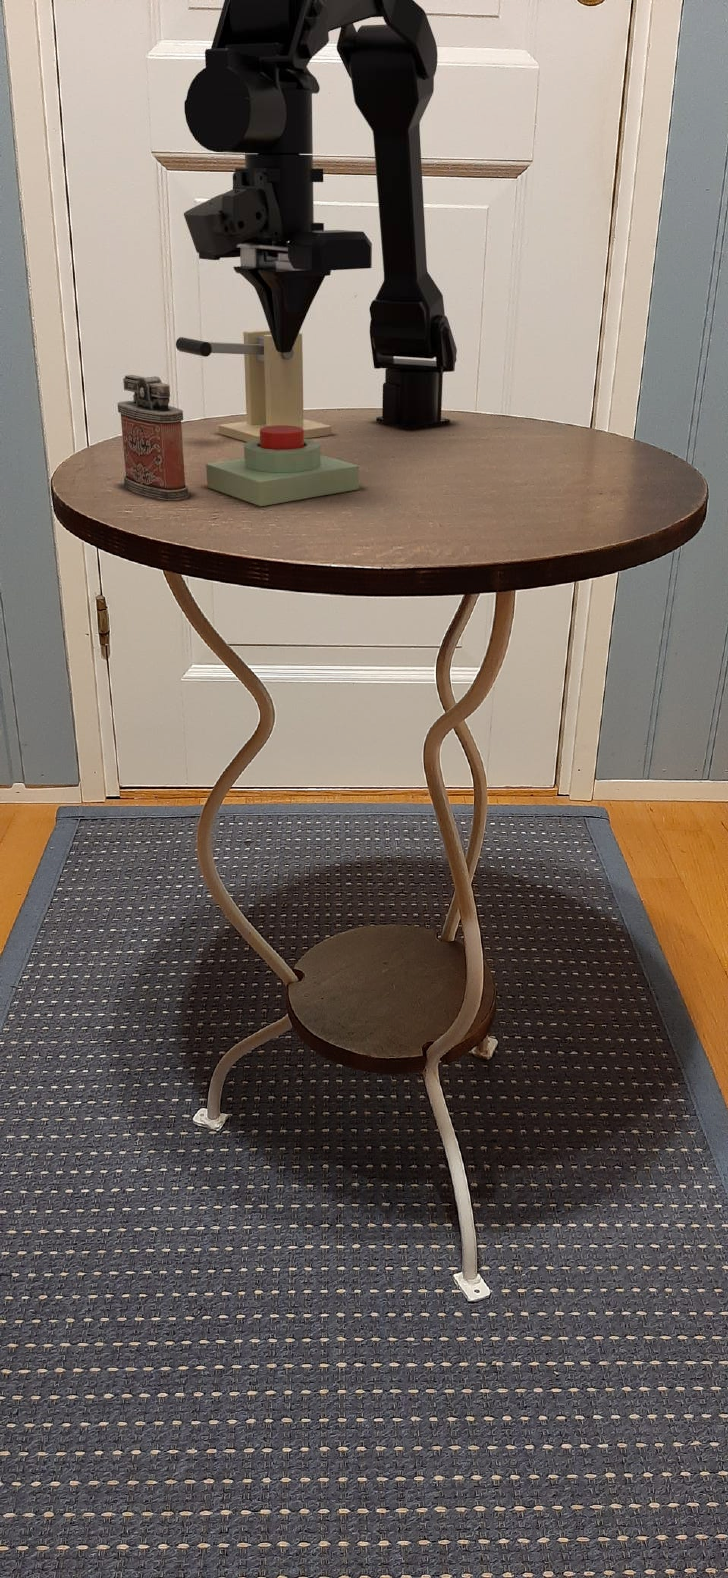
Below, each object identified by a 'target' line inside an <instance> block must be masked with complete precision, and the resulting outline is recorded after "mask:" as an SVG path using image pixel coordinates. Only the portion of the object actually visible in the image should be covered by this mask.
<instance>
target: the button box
mask: <svg viewBox="0 0 728 1578" xmlns="http://www.w3.org/2000/svg"><path fill="white" fill-rule="evenodd" d="M243 454H244V455H243V456H244V457H242V458H236V459H235V458H234V459H229V460H222V461H213V462H207V463H206V464H205V466H206V484H207V485H206V486H207V488H208V489H211V490H214V491H217V492H219V493H223V494H225V495H229V496H231V497H233V498H237V499H239V500H241V501H245V502H246V503H249V504H253V505H256V506H258V507H264V506H265V507H266V506H271V505H277V504H283V503H289V502H295V501H300V500H305V499H306V500H307V499H311V498H317V497H323V496H328V495H334V494H335V495H336V494H340V493H346V492H351V491H357V490H359V489H360V465H358V464H355V463H351V462H348V461H344V460H340V459H338V458H334V457H331V456H327V455H323V454H321V445H320V443H319V441H316V440H313V439H310V438H306V439H304V447H303V448H299V449H292V450H274V449H264V448H261V447H260V439H256V440H252V441H249V442H245V443H243Z"/></svg>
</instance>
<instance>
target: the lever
mask: <svg viewBox="0 0 728 1578" xmlns="http://www.w3.org/2000/svg"><path fill="white" fill-rule="evenodd" d="M175 347H176V349H177V351H179V352H181V353H184V354H191V355H195V356H200V357H205V358H207V357H209V356H210V355H212V354H228V355H229V354H230V355H244V354H252V355H257V360H258V361H263V362H264V337H258V341H257V344H244V342H242V343H241V342H240V343H238V342H217V341H204V340H199V339H193V338H188V337H183V336H180V337H178V338H177V339H176V341H175Z"/></svg>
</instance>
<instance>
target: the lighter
mask: <svg viewBox="0 0 728 1578" xmlns="http://www.w3.org/2000/svg"><path fill="white" fill-rule="evenodd" d="M122 380H123V391H128V392H131V393H134V394H133V395H132V398H133V400H123V401H119V402H117V413H119V414H120V422H121V435H122V447H123V457H124V458H123V459H124V469H125V470H124V471H125V475H124V476H123V482H124V483H123V484H124V488H125V489H128V490H129V491H130V492H133V493H136V494H139V495H142V496H146V497H149V498H154V499H157V500H163V501H179V500H185V499H187V498H188V497H189V491H188V490H189V488H188V485H187V484H186V477H185V476H186V475H185V460H184V443H183V429H182V426H183V425H182V421H183V420H184V410H183V409H181V408H177V407H174V406H171V405H169V404H170V402H171V401H170V397H171V388H170V387H171V386H170V384H168V383H163V382H162V380H161V378H160V377H159V376H156V375H155V376H147V377H145V376H141V375H136V374H125V375H124V377H123V378H122Z"/></svg>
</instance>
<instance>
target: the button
mask: <svg viewBox="0 0 728 1578" xmlns="http://www.w3.org/2000/svg"><path fill="white" fill-rule="evenodd" d="M260 447H261V448H264V449H274V450H292V449H299V448H303V447H304V430H303V428H301V427H297V426H288V425H276V426H267V427H263V428H261V429H260Z"/></svg>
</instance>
